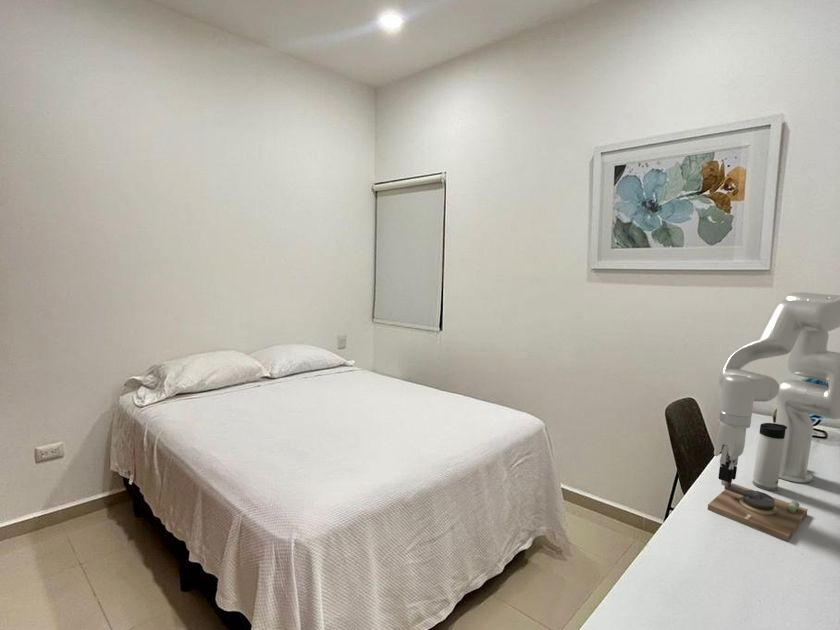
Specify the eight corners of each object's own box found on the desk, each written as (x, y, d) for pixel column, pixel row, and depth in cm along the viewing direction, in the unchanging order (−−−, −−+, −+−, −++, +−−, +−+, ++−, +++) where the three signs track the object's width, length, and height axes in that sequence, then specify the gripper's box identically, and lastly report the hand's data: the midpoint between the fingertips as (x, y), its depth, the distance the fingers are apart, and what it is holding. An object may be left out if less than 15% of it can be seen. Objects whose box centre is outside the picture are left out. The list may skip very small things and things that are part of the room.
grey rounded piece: (724, 485, 136) (728, 457, 135) (777, 504, 126) (781, 474, 125) (716, 493, 131) (719, 463, 130) (769, 513, 122) (774, 481, 120)
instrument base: (731, 487, 140) (733, 477, 140) (806, 514, 126) (808, 503, 126) (707, 509, 128) (708, 498, 127) (787, 541, 114) (789, 529, 113)
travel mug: (782, 492, 138) (792, 429, 135) (758, 489, 139) (767, 427, 137) (771, 482, 144) (780, 422, 141) (748, 479, 145) (756, 419, 143)
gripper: (729, 409, 138) (722, 466, 140) (709, 420, 127) (701, 482, 130) (759, 416, 132) (750, 476, 134) (740, 429, 122) (732, 493, 124)
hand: (726, 478), depth 132 cm, fingers closed on grey rounded piece, 2 cm apart
